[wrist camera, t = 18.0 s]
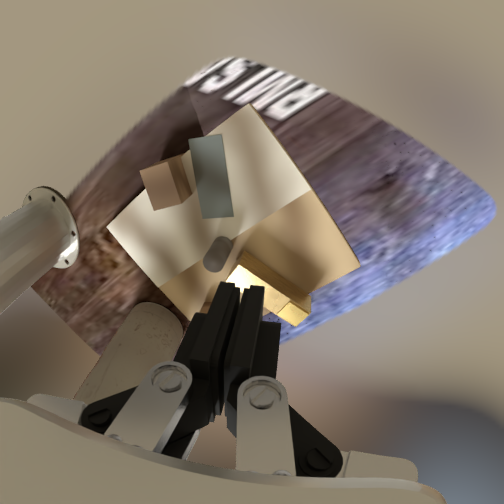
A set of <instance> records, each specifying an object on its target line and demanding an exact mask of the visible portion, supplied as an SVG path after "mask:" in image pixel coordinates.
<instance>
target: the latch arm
mask: <svg viewBox="0 0 504 504" xmlns="http://www.w3.org/2000/svg"><path fill="white" fill-rule="evenodd" d="M226 282H232V283H235V285H236V287H240V291H241V292H242V293H243V291H244V288H250V285H258V286H265V294H264V307H265V308H267V309H268V310H270V311H271V312H273V313H274V314H276V315H278V316H279V317H281V318H282V319H284V320H285V321H287V322H289V323H290V324H292V325H293V326H295V327H296V326H297V325H298V324H299V323H300V322H301V321H303V320H304V319H305V318H306V317H307V316H308V315H309V314H310V313H311V296H310V295H308V294H307V293H306V292H304V291H303V290H301V289H300V288H298V287H297V286H295V285H294V284H293V283H291V282H290V281H288V280H287V279H285V278H284V277H282V276H281V275H280V274H278V273H277V272H275V271H274V270H272V269H271V268H269V267H268V266H267V265H265V264H264V263H262V262H261V261H259V260H258V259H256V258H255V257H254V256H252V255H251V254H249V253H248V252H246V251H244V252H243V253H242V255H241V256H240V257H239V258H238V260H237V261H236V262H235V263H234V265H233V266H232V267H231V270H230V272H229V274H228V277H227V279H226Z"/></svg>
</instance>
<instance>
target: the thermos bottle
mask: <svg viewBox="0 0 504 504" xmlns="http://www.w3.org/2000/svg"><path fill="white" fill-rule="evenodd" d="M182 336H183V328H182V325H181V323H180V321H179V320H178V318H177V317H176V316H175V315H174V314H173V313H172V312H171V311H170V310H168V309H167V308H165V307H163V306H161V305H159V304H156V303H151V302H143V303H139V304H137V305H136V306H135V307H134V308H133V309H132V310H131V312H130V313H129V315H128V316H127V318H126V319H125V320H124V322H123V323H122V325H121V326H120V328H119V329H118V331H117V332H116V333H115V335H114V336H113V338H112V339H111V341H110V342H109V344H108V345H107V347H106V348H105V350H104V351H103V353H102V355H101V357H100V358H99V360H98V362H97V363H96V365H95V366H94V368H93V369H92V370H91V372H90V373H89V374H88V376H87V377H86V379H85V380H84V382H83V384H82V385H81V387H80V388H79V390H78V391H77V393H76V395H75V396H74V398H73V400H77V401H83V402H84V403H85V404H87V405H89V404H91V403H93V402H95V401H98V400H101V399H103V398H106V397H109V396H112V395H114V394H117V393H120V392H122V391H125V390H128V389H130V388H133V387H136V386H138V385H139V384H140V383H141V381H142V380H143V378H144V377H145V376H146V374H147V373H148V371H149V370H150V369H151V368H152V367H153V366H155V365H157V364H159V363H162V362H165V361H172V358H173V356H174V354H175V352H176V350H177V348H178V346H179V343H180V341H181V339H182Z"/></svg>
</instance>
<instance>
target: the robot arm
mask: <svg viewBox="0 0 504 504" xmlns="http://www.w3.org/2000/svg"><path fill="white" fill-rule="evenodd" d="M65 199H66V198H65V197H64V196H63V195H62V194H61V193H60V192H58V191H57V190H55V189H53V188H51V187H48V186H41V187H37V188H35V189H33V190H31V191H30V192H29V193H28V194H27V195H26V197H25V199H24V202H23V206H22V208H20V209H18V210H17V211H15V212H13V213H12V214H10V215H8V216H6V217H3V218H2V219H1V220H0V314H1V313H2V312H3V311H4V310H5V309H6V308H8V306H9V305H11V304H12V303H13V302H14V301H15V300H16V299H17V298H18V297H19V296H20V295H21V294H22V293H24V292H25V291H26V290H27V289H28V288H29V287H30V286H31V285H32V284H33V283H35V282H36V281H37V280H38V279H39V278H40V277H41V276H43V275H44V274H45V273H46V272H47V271H48V270H50V269H51V268H52V267H53V266H54V267H56V268H67V267H69V266H71V265H72V264H73V263H74V262H75V261H76V259H77V257H78V254H79V249H80V239H79V232H78V228H77V225H76V222H75V219H74V217H73V215H72V213H71V211H70V209H69V208H68V206H67V205H66V203H65V202H64V201H65ZM72 230H73V231H74V232H75V234H76V235H73V233H72ZM66 259H67V260H68V261H69V263H67V262H66ZM264 294H265V286H258V285H250V288H244V291H243V294H242V298H241V302H240V287H236V285H235V283H232V282H224V281H220V283H219V285H218V288H217V290H216V293H215V295H214V298H213V300H212V303H211V305H210V308H209V310H208V313H207V314H206V313H199V312H196V313H195V314H194V316H193V318H192V320H191V322H190V324H189V327H188V329H187V331H186V333H185V336H184V338H183V340H182V342H181V345H180V347H179V349H178V351H177V354H176V356H175V358H174V360H173V361H165V362H162V363H159V364H157V365H155V366H153V367H152V368H151V369H150V370H149V371H148V373H147V374H146V376H145V377H144V378H143V380H142V381H141V383H140V384H139V385H138V386H136V387H133V388H130V389H128V390H125V391H122V392H120V393H117V394H114V395H112V396H109V397H106V398H103V399H101V400H98V401H95V402H93V403H91V404H89V405H87V404H85V403H84V402H83V401H77V400H71V399H65V398H60V397H54V396H49V395H45V394H36V395H33V396H32V397H30V398H29V399H28V400H27V402H24V401H20V400H16V399H10V398H0V504H447V503H446V501H445V499H444V497H443V496H442V495H441V494H440V493H439V492H438V491H437V490H435V489H433V488H431V487H429V486H426V485H424V484H420V483H417V481H418V470H417V468H416V466H415V465H414V464H413V463H412V462H411V461H409V460H406V459H403V458H394V457H387V456H380V455H374V454H367V453H362V452H357V451H350V452H349V453H348V452H344V451H340V450H339V449H338V448H337V447H336V446H335V445H334V444H332V443H331V442H330V441H329V440H328V439H327V438H326V437H324V436H323V435H322V434H321V433H320V432H319V431H317V430H316V429H315V428H314V427H313V426H312V425H311V424H310V423H308V422H307V421H306V420H305V419H304V418H303V417H302V416H301V415H299V414H298V413H297V412H296V411H295V410H294V409H293V408H292V407H291V406H290V405H289V404H288V398H287V392H286V389H285V387H284V386H283V385H282V384H281V383H280V382H279V381H277V380H276V371H277V361H278V352H279V341H280V331H281V323H276V322H267V321H262V317H263V306H264ZM224 403H225V416H227V428H228V429H229V430H230V432H231V433H232V434H233V435H234V436H235V437H236V470H232V469H226V468H220V467H214V466H209V465H204V464H199V463H195V462H190V461H186V459H187V457H188V455H189V453H190V451H191V449H192V447H193V445H194V443H195V441H196V439H197V437H198V435H199V433H200V428H202V427H204V426H206V425H208V424H209V422H214V419H215V415H221V413H222V409H223V405H224Z"/></svg>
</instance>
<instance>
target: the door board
mask: <svg viewBox="0 0 504 504" xmlns="http://www.w3.org/2000/svg"><path fill="white" fill-rule="evenodd" d="M188 141H189V147H190V150H188V151H187V152H186V153H184V154H181V155H178V156H175V157H171V158H168V159H165V160H162V161H159V162H157V163H155V164H153V165H151V166H149V167H147V168H145V169H143V170H141V171H140V174H141V177H142V179H143V182H144V185H145V188H146V189H145V190H144V191H143V192H142V193H140V194H139V195H138V196H137V197H136V198H135V199H134V200H133V201H132V202H131V203H130V204H129V205H128V206H127V207H126V208H125V209H124V210H123V211H122V212H121V213H120V214H119V215H118V216H117V217H116V218H115V219H114V220H113V221H112V222H111V223H110V224H109V225H108V226H107V228H108V229H109V231H110V232H111V233H112V234H113V236H114V237H115V238H116V239H117V240H118V242H119V243H120V244H121V245H122V246H123V248H124V249H125V250H126V251H127V252H128V254H129V255H130V256H131V257H132V258H133V260H134V261H135V262H136V263H137V264H138V265H139V267H140V268H141V269H142V270H143V271H144V272H145V273H146V275H147V276H148V277H149V278H150V279H151V280H152V281H153V282H154V284H155V285H156V286H157V287H159V288H160V289H161V291H162V292H163V293H164V294H165V295H166V296H167V297H168V298H169V299H170V300H171V301H172V302H173V304H174V305H175V306H176V307H177V308H178V309H179V310H180V311H181V312H182V313H183V314H184V315H185V316H186V317H187V318H188V319H189V320H190V321H191V320H192V318H193V316H194V314H195V313H196V312H199V313H206V314H207V313H208V310H209V308H210V305H211V303H212V300H213V298H214V295H215V293H216V290H217V288H218V285H219V283H220V281H224V282H226V279H227V277H228V274H229V272H230V270H231V267H232V266H233V265H234V263H235V262H236V261H237V260H238V258H239V257H240V256H241V255H242V253H243V252H244V251H246V252H248V253H249V254H251V255H252V256H254V257H255V258H256V259H258V260H259V261H261V262H262V263H264V264H265V265H267V266H268V267H269V268H271V269H272V270H274V271H275V272H277V273H278V274H280V275H281V276H282V277H284V278H285V279H287V280H288V281H290V282H291V283H293V284H294V285H295V286H297V287H298V288H300V289H301V290H303V291H304V292H306V293H307V294H309V293H311V292H313V291H315V290H317V289H319V288H321V287H322V286H324V285H326V284H328V283H330V282H332V281H334V280H336V279H338V278H340V277H342V276H344V275H346V274H347V273H349V272H351V271H353V270H355V269H357V268H359V267H360V262H359V260H358V258H357V256H356V255H355V253H354V251H353V250H352V248H351V246H350V245H349V243H348V242H347V240H346V238H345V237H344V235H343V233H342V232H341V230H340V229H339V227H338V226H337V224H336V222H335V221H334V219H333V218H332V216H331V215H330V213H329V212H328V210H327V208H326V207H325V205H324V204H323V202H322V201H321V199H320V198H319V196H318V195H317V193H316V192H315V190H314V189H313V187H312V186H311V185H310V183H309V182H308V180H307V179H306V177H305V176H304V174H303V173H302V172H301V170H300V169H299V167H298V166H297V164H296V163H295V162H294V160H293V159H292V157H291V156H290V155H289V153H288V152H287V150H286V149H285V148H284V146H283V145H282V144H281V142H280V141H279V140H278V138H277V137H276V135H275V134H274V133H273V131H272V130H271V129H270V128H269V126H268V125H267V124H266V122H265V121H264V120H263V118H262V117H261V116H260V114H259V113H258V112H257V111H256V109H255V108H254V107H253V106H252V104H249V103H248V104H247V105H246V106H244V107H243V108H242V109H240V110H239V111H238V112H236V113H235V114H234V115H232V116H231V117H230V118H228V119H227V120H226V121H224V122H223V123H222V124H221V125H219V126H218V127H217V128H215V129H214V130H213V131H212V132H210V133H209V134H208V135H207V136H205V137H199V138H193V139H188ZM242 294H243V293H242V292H241V291H240V302H241V298H242ZM270 312H271V311H270V310H268V309H267V308H265V307H264V306H263V316H264V315H266V314H268V313H270Z"/></svg>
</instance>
